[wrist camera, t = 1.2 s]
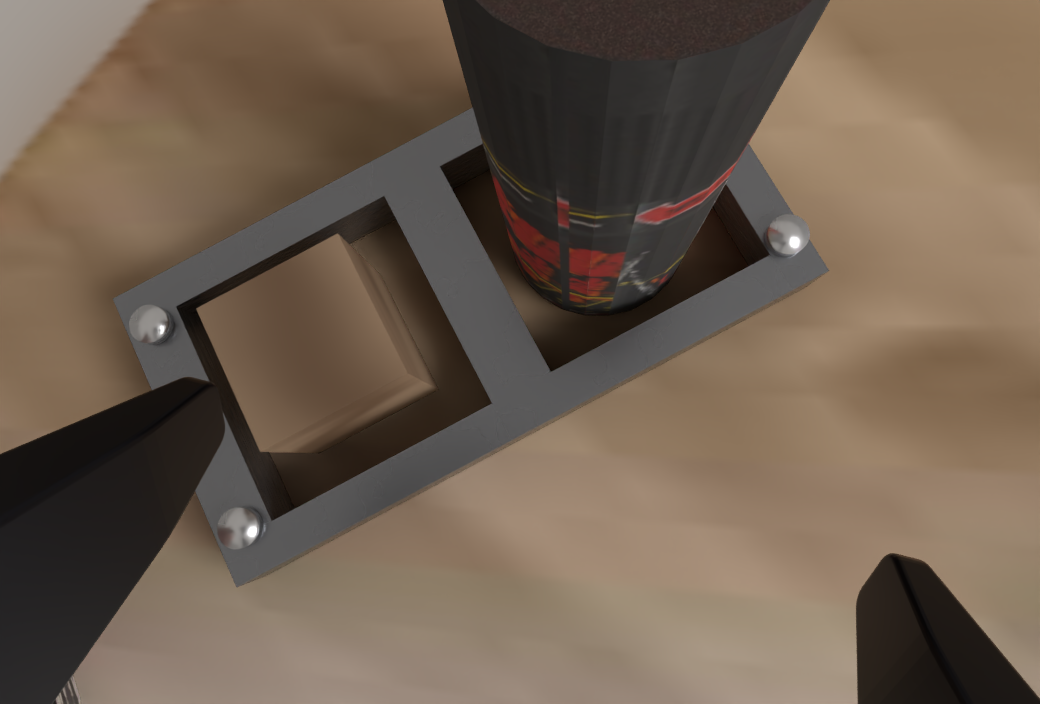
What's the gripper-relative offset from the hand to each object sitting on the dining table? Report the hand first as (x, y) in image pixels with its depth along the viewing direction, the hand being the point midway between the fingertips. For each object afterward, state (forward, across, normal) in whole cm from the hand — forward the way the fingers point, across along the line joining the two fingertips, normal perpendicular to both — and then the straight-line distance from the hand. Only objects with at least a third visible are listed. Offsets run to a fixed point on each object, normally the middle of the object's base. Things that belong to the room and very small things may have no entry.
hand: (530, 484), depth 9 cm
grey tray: (+13, +4, +6) cm, 15 cm away
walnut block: (+11, +8, +8) cm, 16 cm away
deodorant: (+15, 0, +4) cm, 16 cm away
